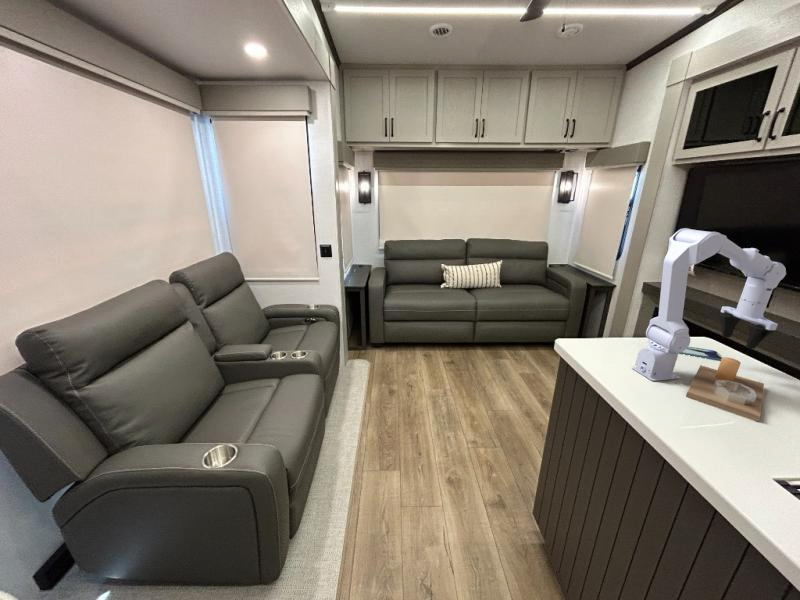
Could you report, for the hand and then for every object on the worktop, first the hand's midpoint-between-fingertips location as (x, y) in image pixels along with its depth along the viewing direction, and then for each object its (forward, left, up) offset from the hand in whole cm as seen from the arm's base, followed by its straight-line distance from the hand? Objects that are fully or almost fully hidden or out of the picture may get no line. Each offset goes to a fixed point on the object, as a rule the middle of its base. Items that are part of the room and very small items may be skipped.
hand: (737, 342), depth 102 cm
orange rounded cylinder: (-9, -6, -8) cm, 14 cm away
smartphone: (+1, +12, -11) cm, 16 cm away
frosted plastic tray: (-16, -13, -8) cm, 23 cm away
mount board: (-14, -10, -10) cm, 20 cm away
